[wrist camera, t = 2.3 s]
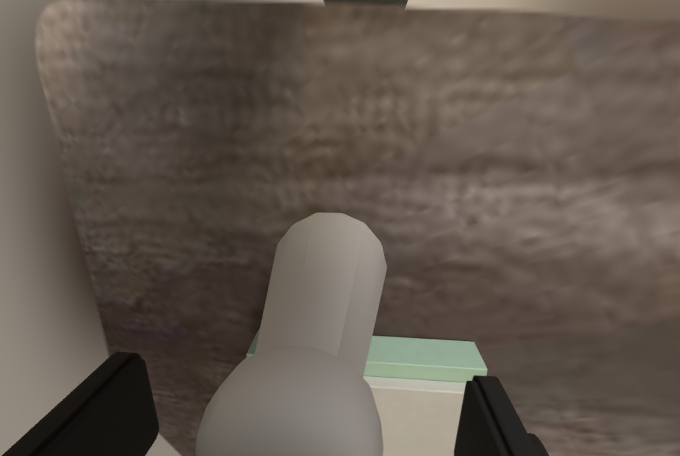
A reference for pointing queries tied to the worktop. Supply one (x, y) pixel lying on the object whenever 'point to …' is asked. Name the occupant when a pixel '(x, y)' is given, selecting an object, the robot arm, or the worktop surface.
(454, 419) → the scale
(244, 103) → the worktop surface
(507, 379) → the worktop surface
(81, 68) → the worktop surface
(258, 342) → the salt shaker
